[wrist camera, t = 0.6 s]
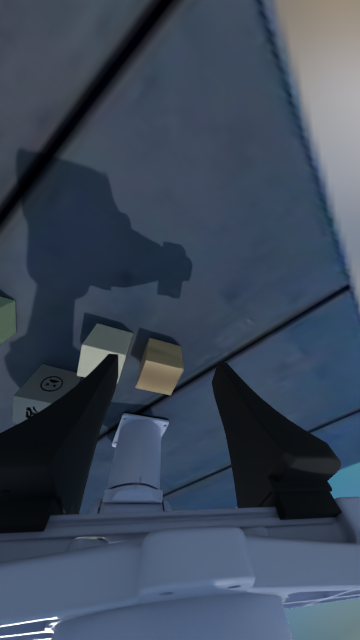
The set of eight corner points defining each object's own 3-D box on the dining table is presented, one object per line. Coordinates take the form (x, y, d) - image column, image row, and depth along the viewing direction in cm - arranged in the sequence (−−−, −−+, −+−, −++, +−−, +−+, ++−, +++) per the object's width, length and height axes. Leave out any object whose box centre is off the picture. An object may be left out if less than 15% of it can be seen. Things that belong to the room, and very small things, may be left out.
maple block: (170, 369, 26) (170, 395, 22) (140, 362, 25) (135, 388, 21) (181, 346, 24) (184, 369, 20) (149, 337, 23) (145, 360, 19)
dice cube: (42, 364, 24) (13, 395, 19) (81, 373, 25) (63, 405, 20) (38, 389, 26) (12, 422, 21) (75, 396, 27) (57, 430, 22)
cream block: (125, 359, 24) (117, 384, 20) (91, 350, 23) (76, 375, 19) (133, 333, 22) (126, 355, 18) (97, 322, 21) (81, 344, 17)
